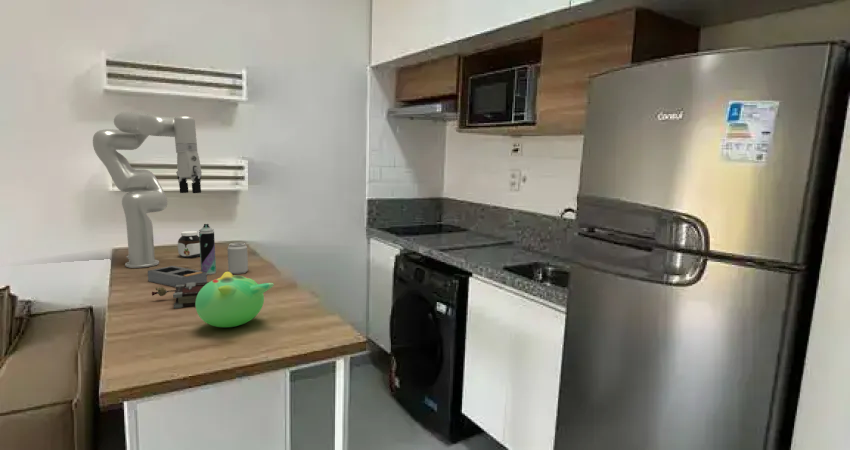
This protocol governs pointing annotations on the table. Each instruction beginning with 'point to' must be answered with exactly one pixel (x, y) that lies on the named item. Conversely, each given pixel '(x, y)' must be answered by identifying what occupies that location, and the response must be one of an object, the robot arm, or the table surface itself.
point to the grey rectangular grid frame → (176, 276)
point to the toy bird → (230, 300)
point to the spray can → (207, 250)
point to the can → (237, 258)
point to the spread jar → (189, 244)
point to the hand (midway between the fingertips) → (190, 192)
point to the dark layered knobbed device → (183, 293)
